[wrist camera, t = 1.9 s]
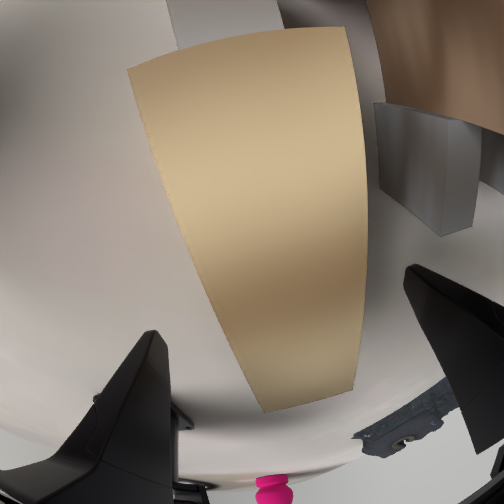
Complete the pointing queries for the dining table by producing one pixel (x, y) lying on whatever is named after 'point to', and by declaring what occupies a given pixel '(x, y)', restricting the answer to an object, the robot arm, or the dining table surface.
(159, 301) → the dining table surface
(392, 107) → the brown boxy piece
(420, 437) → the dark slate chunk
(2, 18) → the dining table surface
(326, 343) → the tan oblong piece
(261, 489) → the pepper mill
